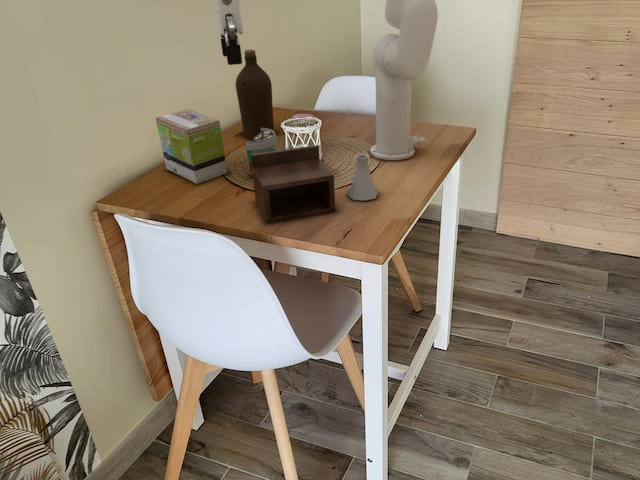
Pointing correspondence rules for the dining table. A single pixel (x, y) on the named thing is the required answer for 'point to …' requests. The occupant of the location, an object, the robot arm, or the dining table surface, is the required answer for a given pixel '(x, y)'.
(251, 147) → the food container
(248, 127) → the olive oil
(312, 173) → the spice shelf
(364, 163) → the flask
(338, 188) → the dining table surface
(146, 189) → the dining table surface
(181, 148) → the tea box
